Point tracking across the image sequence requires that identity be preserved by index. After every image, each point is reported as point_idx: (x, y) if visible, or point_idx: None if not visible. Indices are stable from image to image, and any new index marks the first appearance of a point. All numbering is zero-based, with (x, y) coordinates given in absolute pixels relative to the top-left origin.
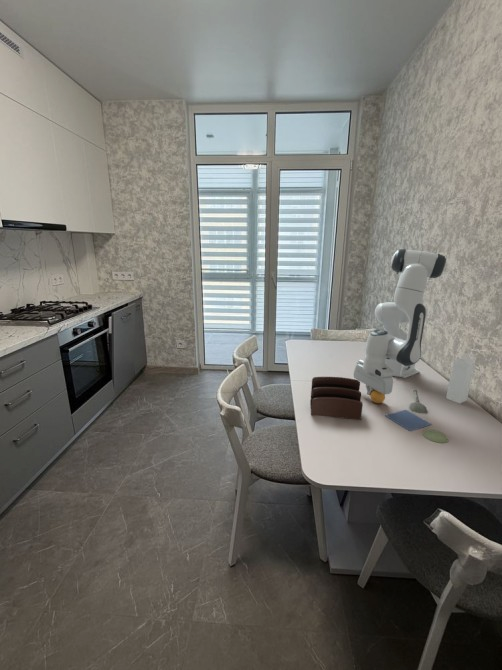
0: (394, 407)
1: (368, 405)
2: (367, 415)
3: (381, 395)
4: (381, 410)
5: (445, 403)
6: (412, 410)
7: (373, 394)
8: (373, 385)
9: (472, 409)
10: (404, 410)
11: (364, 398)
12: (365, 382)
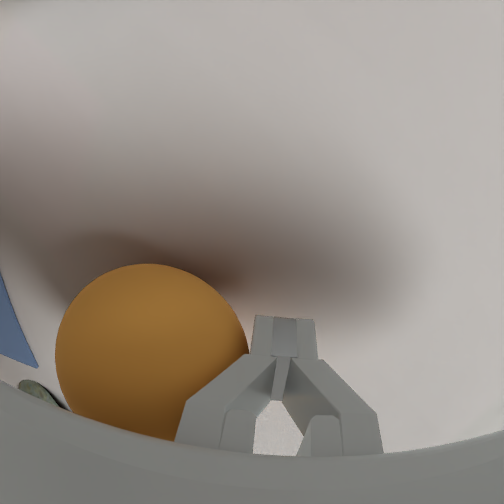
0: None
1: (145, 155)
2: (17, 17)
3: (56, 369)
4: (33, 211)
5: None
6: (34, 385)
7: (113, 321)
8: (55, 485)
9: None
10: (27, 355)
11: (321, 258)
12: (398, 494)
